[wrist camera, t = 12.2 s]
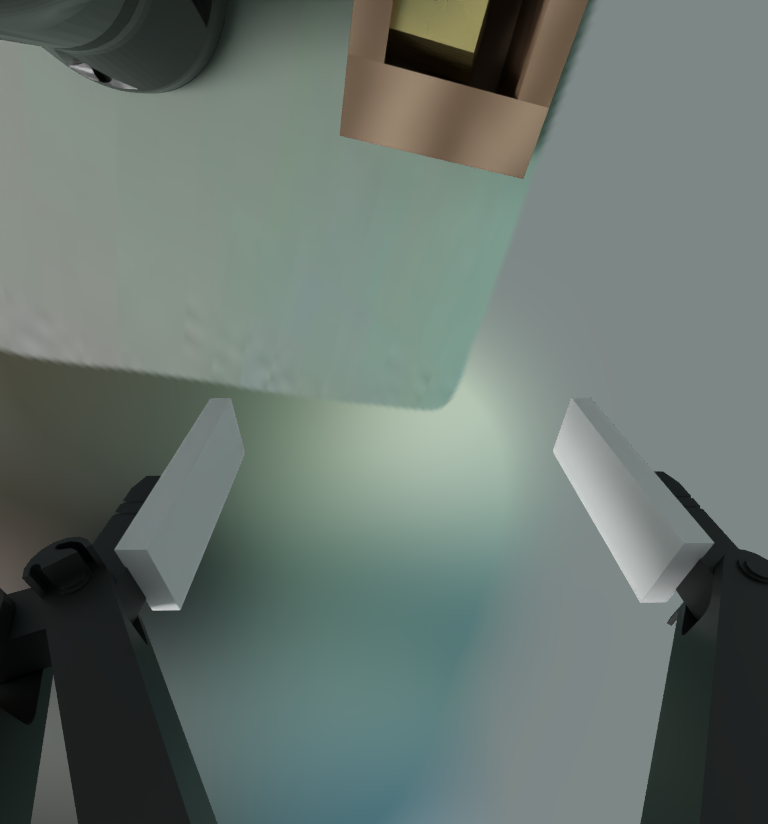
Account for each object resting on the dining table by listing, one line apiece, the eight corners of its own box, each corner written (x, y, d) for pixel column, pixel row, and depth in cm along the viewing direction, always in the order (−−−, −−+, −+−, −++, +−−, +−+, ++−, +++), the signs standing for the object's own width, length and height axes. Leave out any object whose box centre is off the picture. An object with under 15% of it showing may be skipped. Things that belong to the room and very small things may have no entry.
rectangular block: (392, 60, 29) (369, 21, 21) (402, 4, 27) (382, -59, 20) (469, 83, 29) (473, 52, 21) (484, 29, 27) (495, -25, 20)
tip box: (346, 126, 32) (339, 135, 23) (372, -103, 25) (375, -213, 16) (483, 159, 34) (523, 179, 25) (544, -45, 26) (630, -117, 18)
